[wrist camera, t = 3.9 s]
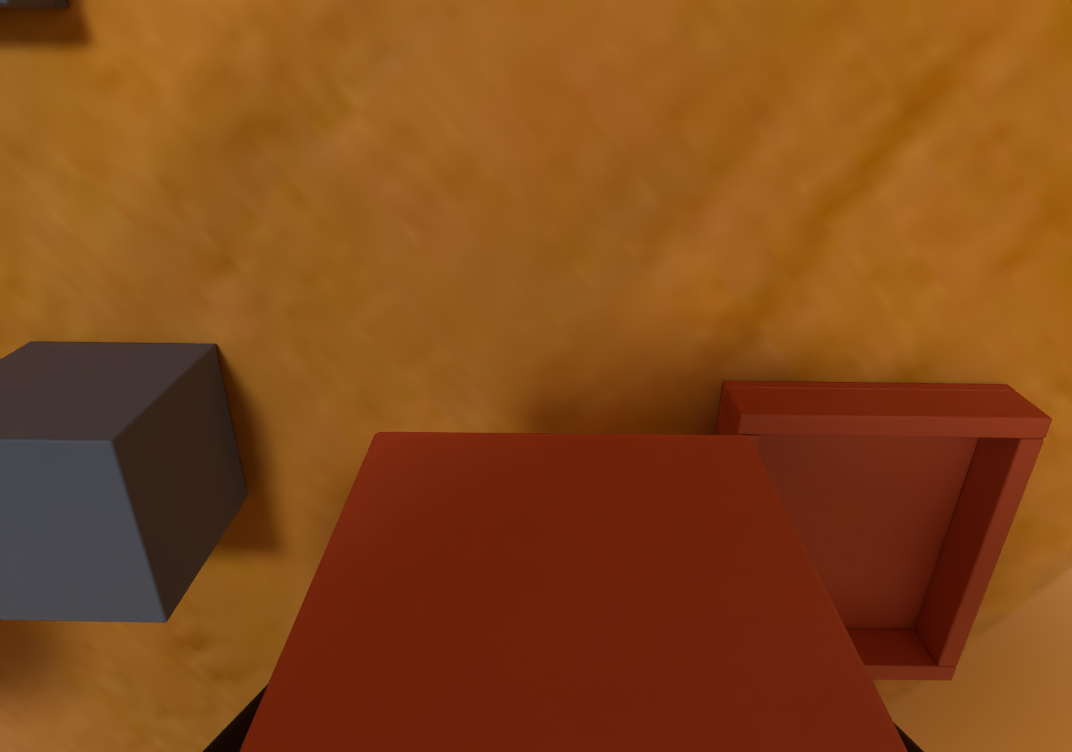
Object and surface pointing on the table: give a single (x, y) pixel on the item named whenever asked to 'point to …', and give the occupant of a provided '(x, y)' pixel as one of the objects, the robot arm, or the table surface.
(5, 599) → the blue block
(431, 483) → the rust block
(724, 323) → the table surface
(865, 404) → the rust tray
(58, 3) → the blue tray
